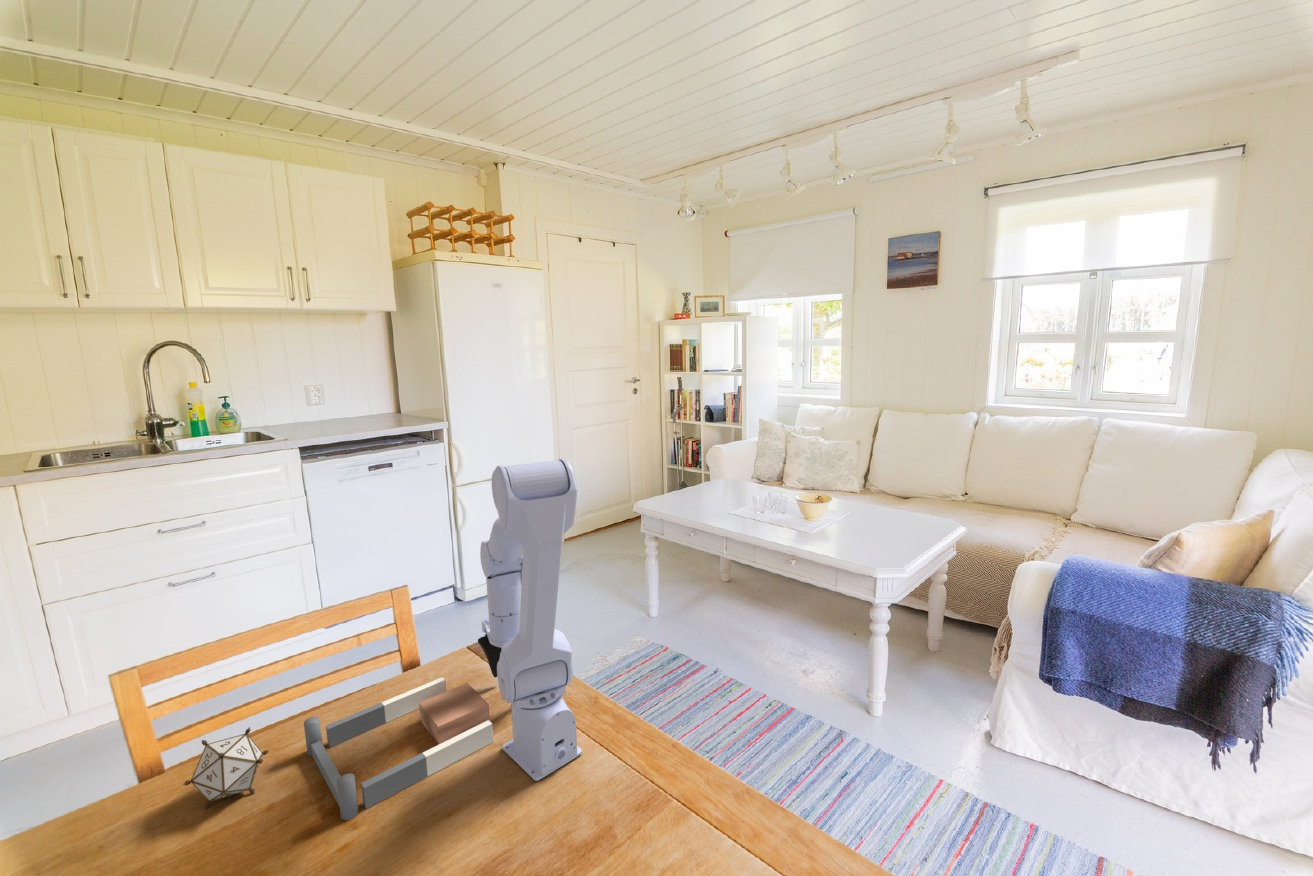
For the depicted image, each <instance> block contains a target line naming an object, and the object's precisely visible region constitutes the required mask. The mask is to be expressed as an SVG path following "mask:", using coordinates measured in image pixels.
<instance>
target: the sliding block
mask: <svg viewBox="0 0 1313 876" xmlns="http://www.w3.org/2000/svg"><path fill="white" fill-rule="evenodd" d="M419 717H420V719H419V720H420V722H421V723H422V724H423V726H424V727H425V729H426V730H427V731H428V732H429V734H430V735H431V737H432V738H433V739H434V741H435V742H436V743H437V745H439V744H441V743H443V742H445V741H447V740H449V739H451V738H453V737H455V736H457V735H459V734H461V733H463V732H465V731H467V730H469V729H471V728H473V727H475V726H477V725H479V724H481V723H483V722H485V721H487V720H489V721H490V722H491V718H490V717H491V716H490V704H489V703H488V702H487V700H485V698H484V697H482V696H481V694H480V693H478V692H477V691H476V689H474V688H473V686H471V685H470V684H469V683H468V682H466V683H464V684H460V685H459V686H457V687H454V688H451V689H449V690H446V692H444V693H441V694H439V695H436V696H434V697H432V698H429V699H427V700H424V701H422V702H419Z"/></svg>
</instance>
